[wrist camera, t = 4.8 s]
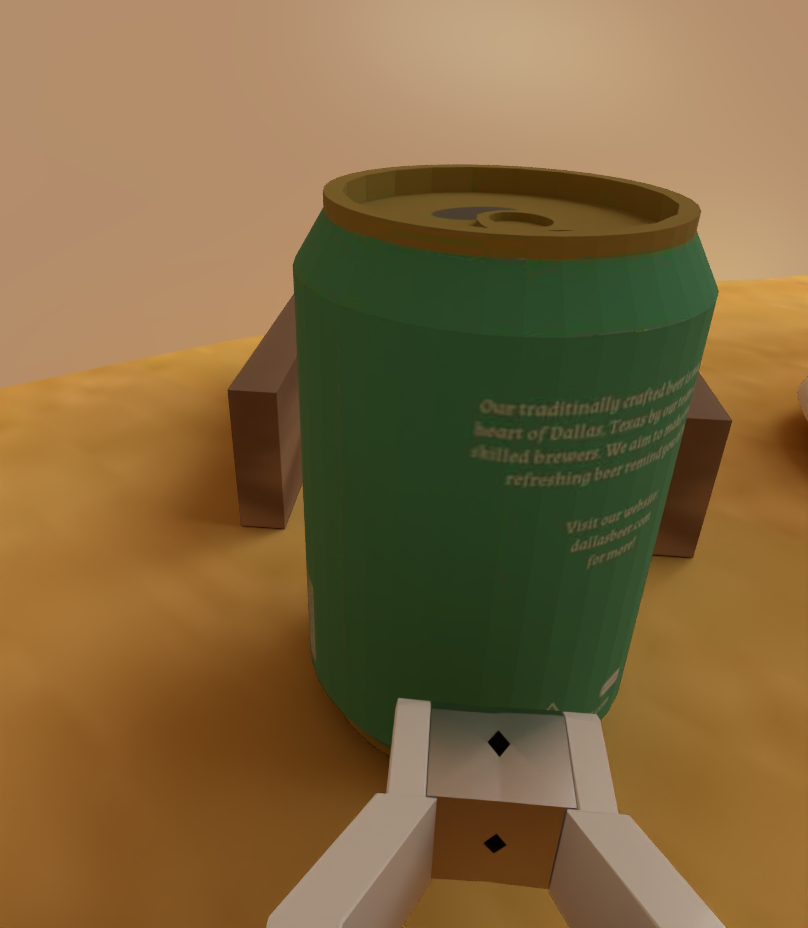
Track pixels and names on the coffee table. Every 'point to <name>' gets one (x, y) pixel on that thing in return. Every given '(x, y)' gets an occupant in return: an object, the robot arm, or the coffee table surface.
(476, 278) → the beverage can
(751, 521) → the coffee table surface
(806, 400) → the flower in vase
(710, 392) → the walnut bracket
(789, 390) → the coffee table surface
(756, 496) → the coffee table surface
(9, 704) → the coffee table surface
